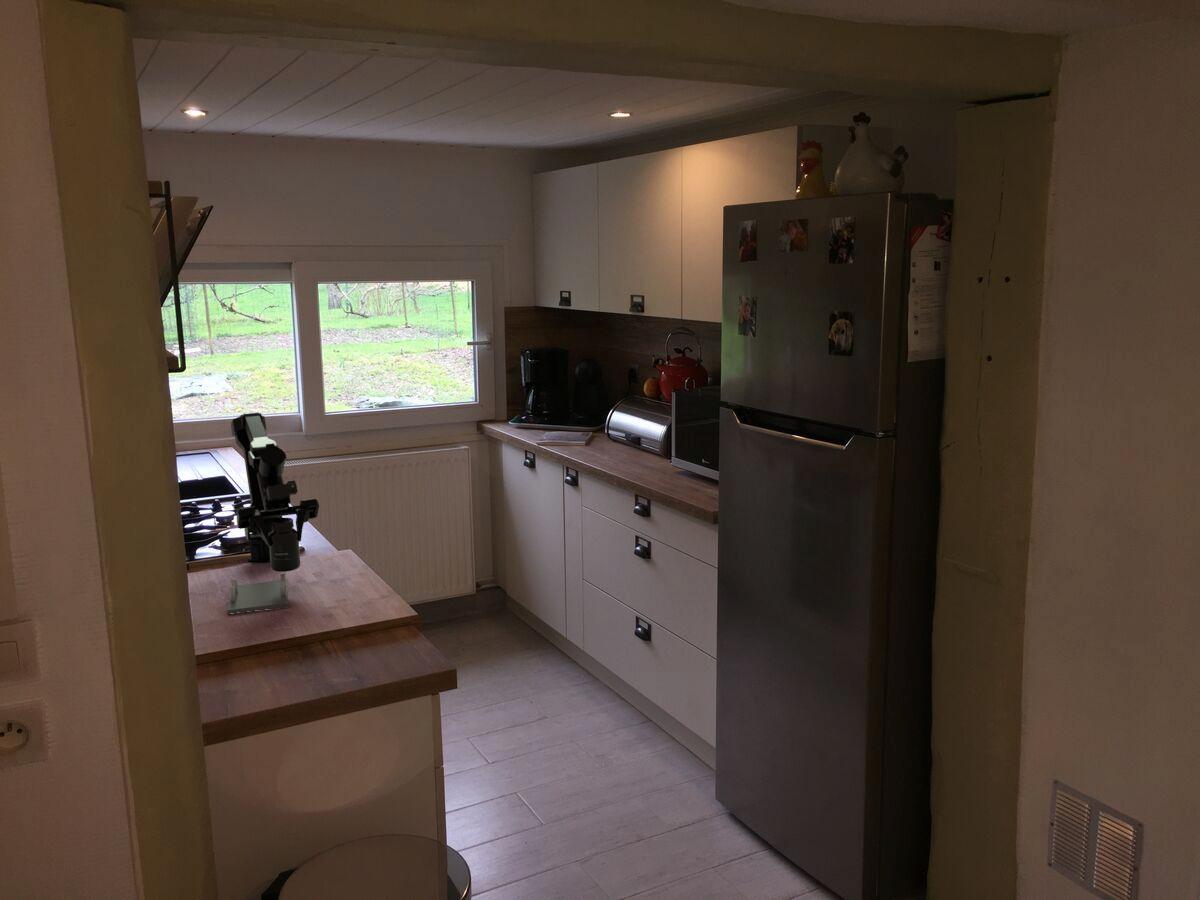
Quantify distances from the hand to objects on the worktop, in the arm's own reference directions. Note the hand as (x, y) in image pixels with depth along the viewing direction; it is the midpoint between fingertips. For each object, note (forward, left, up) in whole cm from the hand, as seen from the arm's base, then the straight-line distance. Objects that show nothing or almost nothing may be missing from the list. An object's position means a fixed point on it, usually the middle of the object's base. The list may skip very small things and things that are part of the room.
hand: (285, 543), depth 231 cm
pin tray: (+4, -5, -13) cm, 15 cm away
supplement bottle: (-1, -1, -7) cm, 7 cm away
